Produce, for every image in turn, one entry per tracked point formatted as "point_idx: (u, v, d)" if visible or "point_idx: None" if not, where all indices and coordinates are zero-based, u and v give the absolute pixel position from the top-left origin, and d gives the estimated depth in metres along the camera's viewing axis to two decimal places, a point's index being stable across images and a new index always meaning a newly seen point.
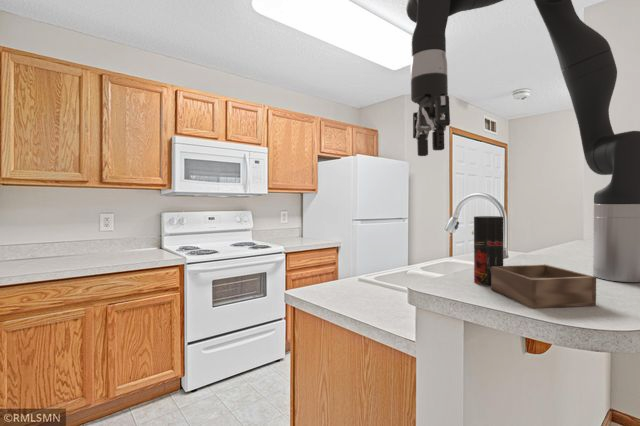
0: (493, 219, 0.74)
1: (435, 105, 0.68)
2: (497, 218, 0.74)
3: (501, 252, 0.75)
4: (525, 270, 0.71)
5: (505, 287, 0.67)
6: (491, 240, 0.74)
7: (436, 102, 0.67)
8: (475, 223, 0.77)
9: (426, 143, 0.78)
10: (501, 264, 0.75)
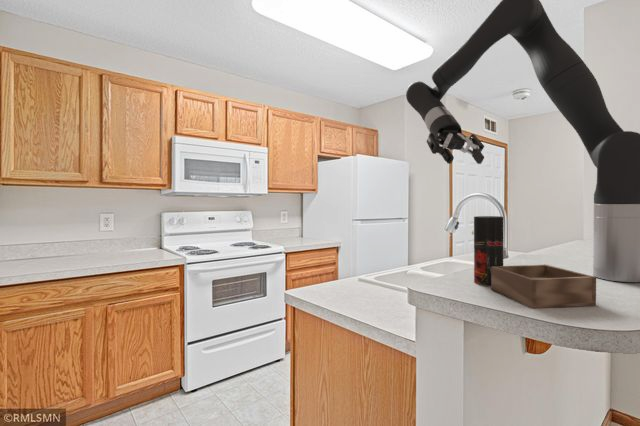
0: (493, 219, 0.74)
1: None
2: (497, 218, 0.74)
3: (501, 252, 0.75)
4: (525, 270, 0.71)
5: (505, 287, 0.67)
6: (491, 240, 0.74)
7: None
8: (475, 223, 0.77)
9: (476, 152, 0.90)
10: (501, 264, 0.75)
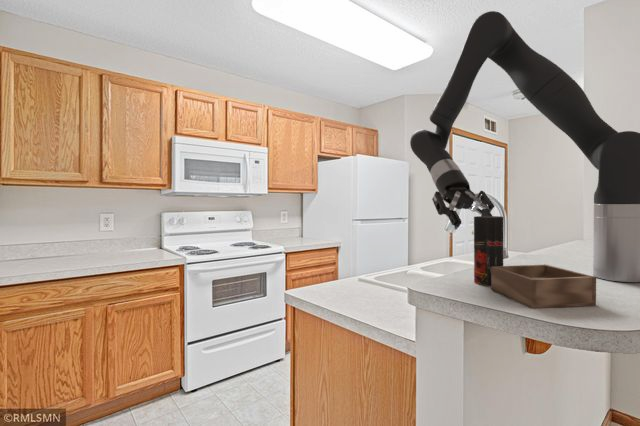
0: (493, 219, 0.74)
1: None
2: (497, 218, 0.74)
3: (501, 252, 0.75)
4: (525, 270, 0.71)
5: (505, 287, 0.67)
6: (491, 240, 0.74)
7: None
8: (475, 223, 0.77)
9: (486, 213, 0.84)
10: (501, 264, 0.75)
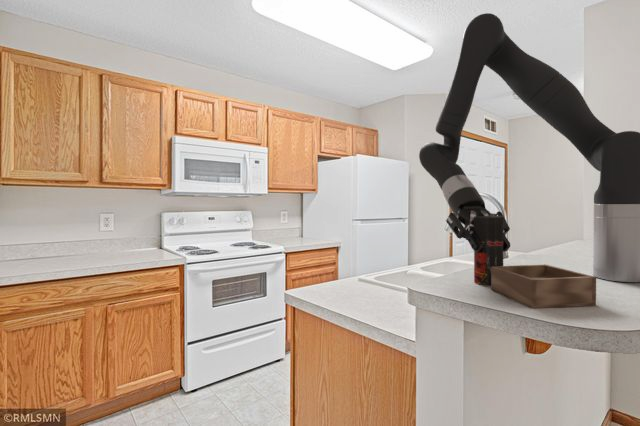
0: (493, 219, 0.74)
1: None
2: (497, 218, 0.74)
3: (501, 252, 0.75)
4: (525, 270, 0.71)
5: (505, 287, 0.67)
6: (491, 240, 0.74)
7: None
8: (475, 223, 0.77)
9: None
10: (501, 264, 0.75)
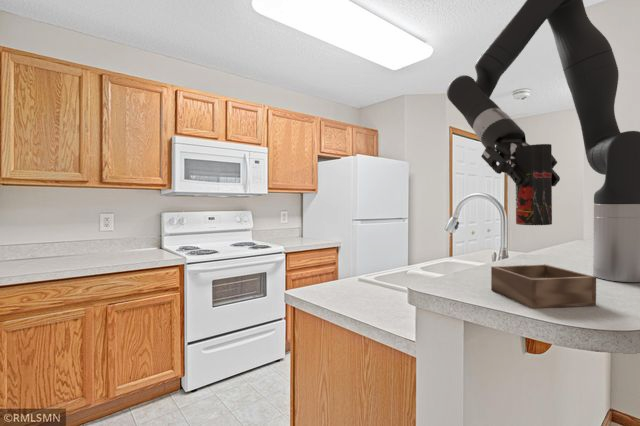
0: (540, 146, 0.63)
1: None
2: (545, 145, 0.63)
3: (550, 185, 0.64)
4: (525, 270, 0.71)
5: (505, 287, 0.67)
6: (538, 171, 0.63)
7: None
8: (517, 154, 0.66)
9: None
10: (550, 199, 0.64)
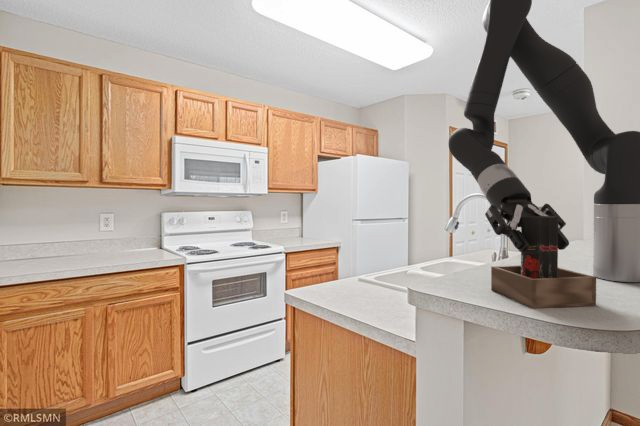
0: (547, 219, 0.63)
1: None
2: (552, 218, 0.63)
3: (556, 258, 0.63)
4: None
5: (505, 287, 0.67)
6: (545, 244, 0.63)
7: None
8: (524, 224, 0.65)
9: None
10: (556, 272, 0.63)
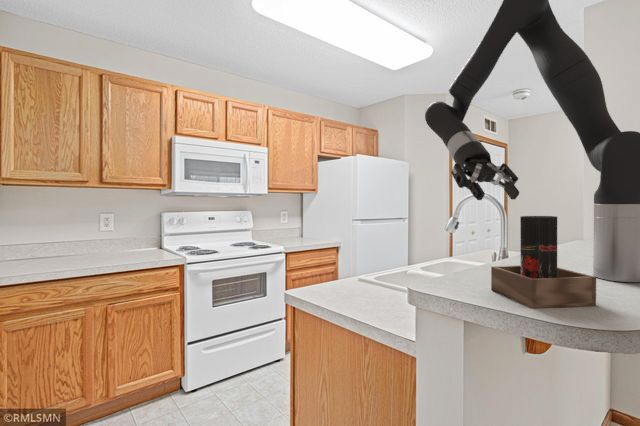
0: (546, 219, 0.63)
1: None
2: (551, 218, 0.63)
3: (555, 258, 0.63)
4: None
5: (505, 287, 0.67)
6: (544, 244, 0.63)
7: None
8: (523, 224, 0.65)
9: (510, 186, 0.78)
10: (555, 272, 0.63)
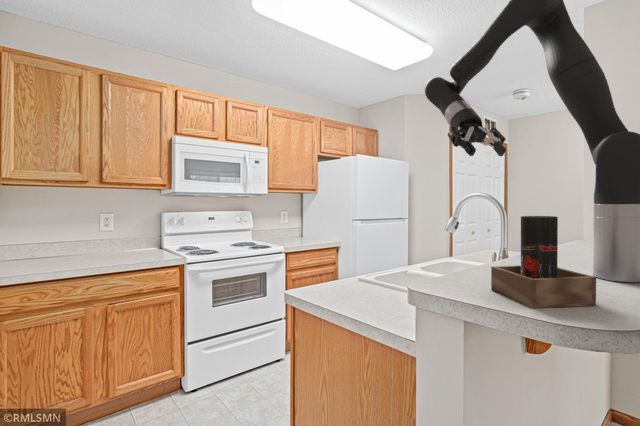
0: (547, 219, 0.63)
1: None
2: (551, 218, 0.63)
3: (556, 258, 0.63)
4: None
5: (505, 287, 0.67)
6: (544, 244, 0.63)
7: None
8: (523, 224, 0.65)
9: (498, 144, 0.91)
10: (555, 272, 0.63)
